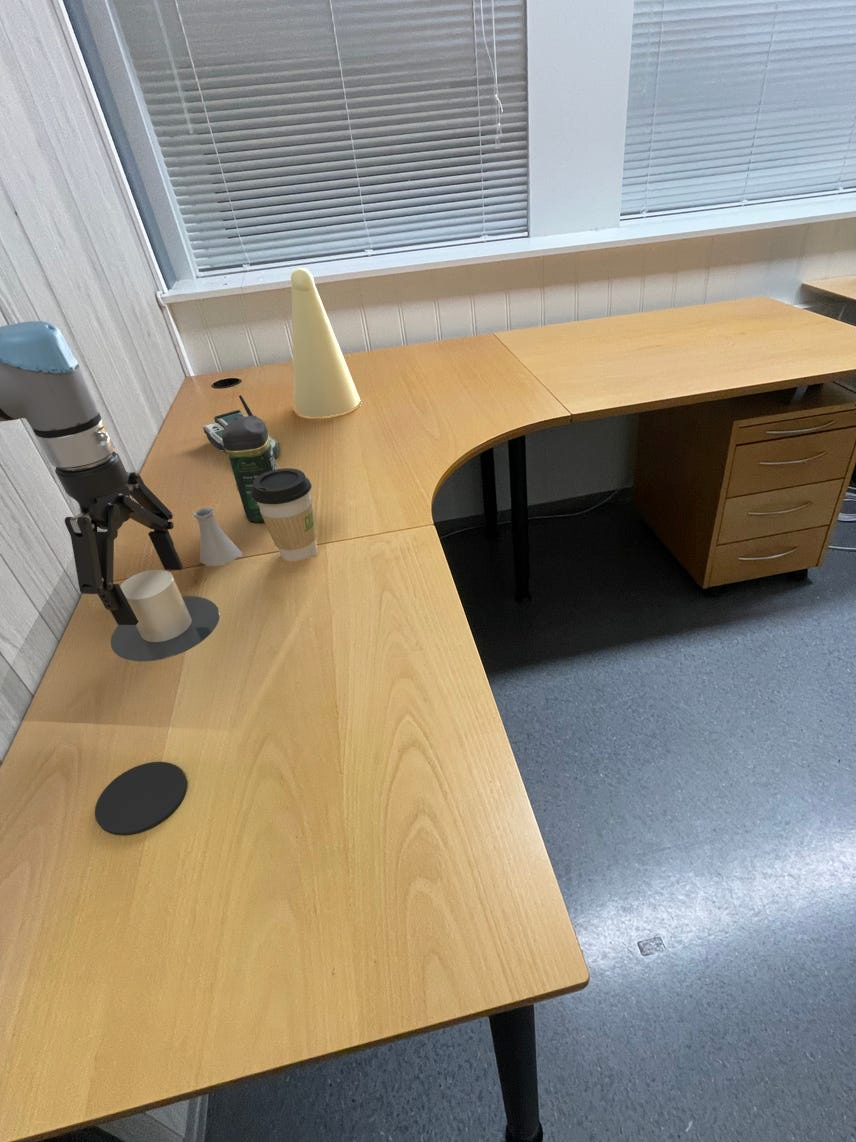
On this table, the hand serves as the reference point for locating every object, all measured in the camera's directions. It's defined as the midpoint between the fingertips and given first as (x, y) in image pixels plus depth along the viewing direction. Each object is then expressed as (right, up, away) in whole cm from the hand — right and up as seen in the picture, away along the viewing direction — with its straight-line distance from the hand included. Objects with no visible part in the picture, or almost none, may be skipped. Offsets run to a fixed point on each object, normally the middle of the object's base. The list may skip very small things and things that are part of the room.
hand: (152, 594), depth 92 cm
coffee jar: (+6, +19, +33) cm, 39 cm away
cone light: (+8, +55, +76) cm, 94 cm away
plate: (0, -5, +5) cm, 7 cm away
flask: (+2, +7, +20) cm, 21 cm away
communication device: (-8, +40, +58) cm, 71 cm away
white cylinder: (0, -5, +4) cm, 6 cm away
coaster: (+9, -25, -19) cm, 33 cm away
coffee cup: (+16, +8, +20) cm, 27 cm away
